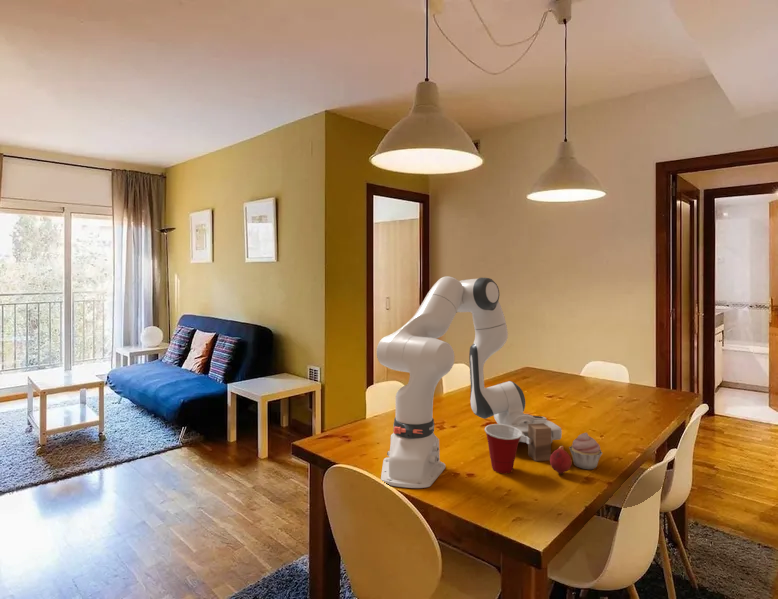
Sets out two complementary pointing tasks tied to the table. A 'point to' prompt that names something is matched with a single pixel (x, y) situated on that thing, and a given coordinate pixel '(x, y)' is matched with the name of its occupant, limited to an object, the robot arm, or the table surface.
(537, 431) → the walnut block
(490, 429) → the plastic cup
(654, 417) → the table surface
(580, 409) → the table surface
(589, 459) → the cupcake
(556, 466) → the onion
